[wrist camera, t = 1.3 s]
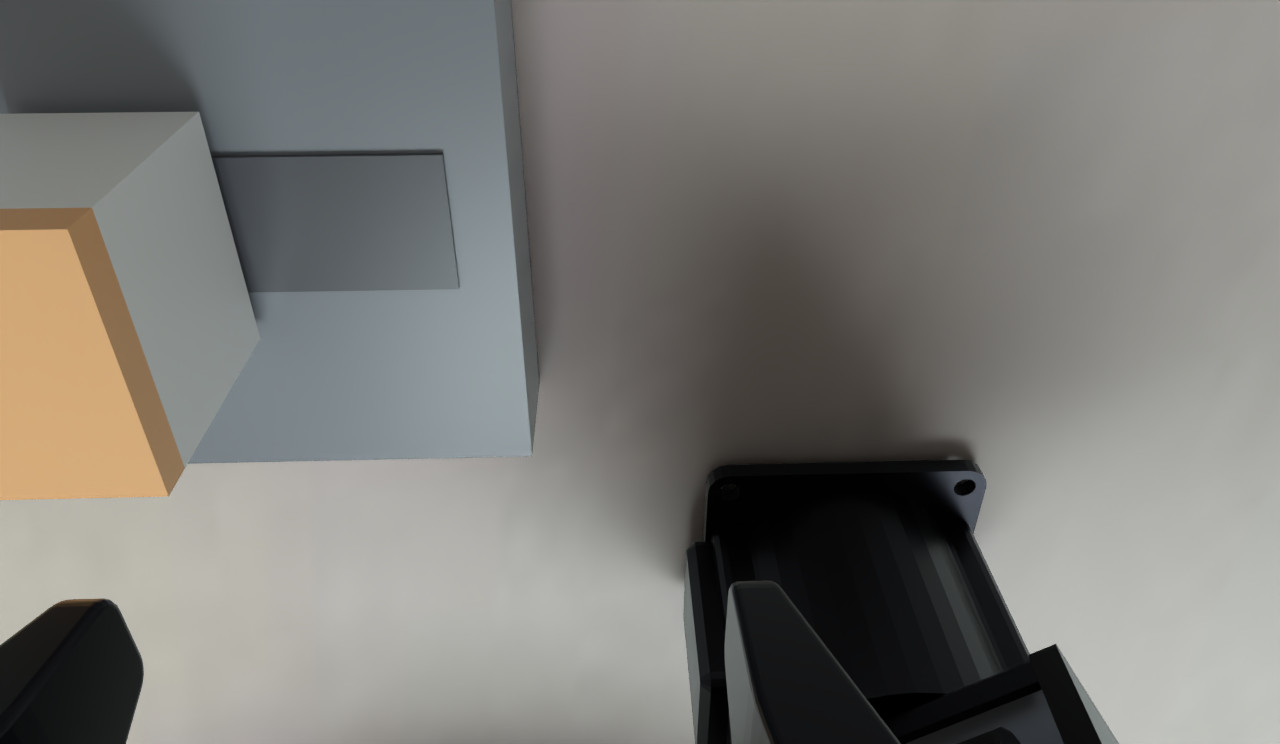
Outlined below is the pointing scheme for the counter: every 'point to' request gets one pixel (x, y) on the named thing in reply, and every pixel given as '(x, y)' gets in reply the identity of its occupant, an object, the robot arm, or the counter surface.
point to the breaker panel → (335, 204)
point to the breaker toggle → (112, 302)
